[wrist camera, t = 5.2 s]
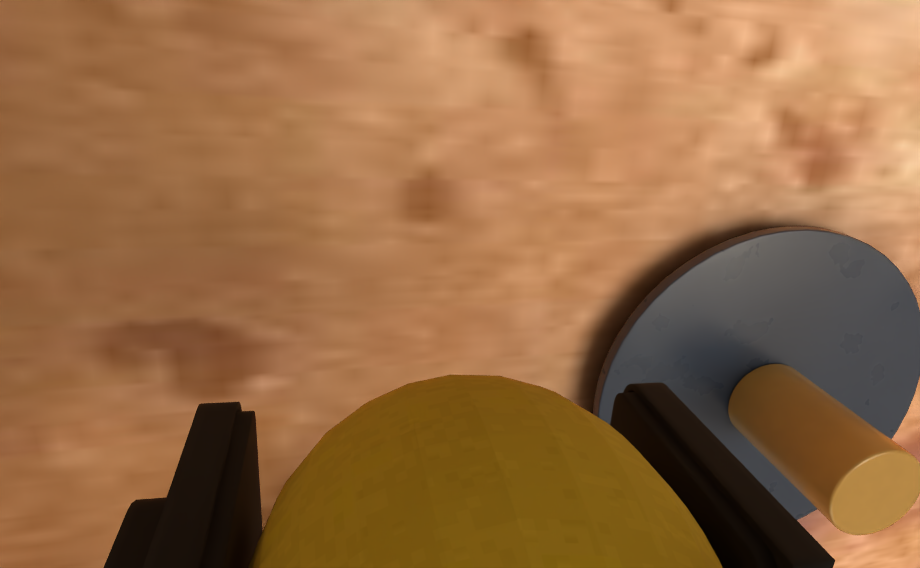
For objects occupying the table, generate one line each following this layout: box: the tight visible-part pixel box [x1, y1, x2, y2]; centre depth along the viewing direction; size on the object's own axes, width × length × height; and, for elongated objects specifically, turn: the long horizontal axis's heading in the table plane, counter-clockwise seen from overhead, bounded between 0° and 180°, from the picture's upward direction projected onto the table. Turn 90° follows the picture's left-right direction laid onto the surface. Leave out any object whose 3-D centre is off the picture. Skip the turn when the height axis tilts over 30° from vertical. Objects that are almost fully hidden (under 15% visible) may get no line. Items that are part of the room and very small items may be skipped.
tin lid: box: [593, 226, 920, 535], centre depth 20 cm, size 12×12×6 cm
